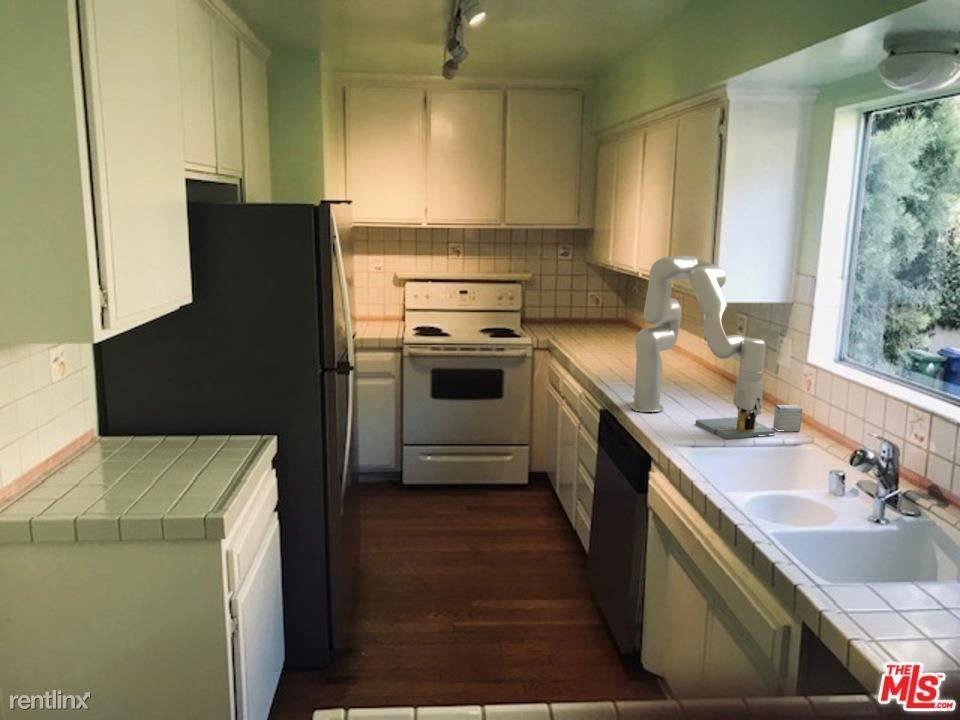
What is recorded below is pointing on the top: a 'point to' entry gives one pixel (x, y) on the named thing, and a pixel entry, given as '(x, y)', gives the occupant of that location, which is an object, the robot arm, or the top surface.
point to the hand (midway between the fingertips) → (745, 427)
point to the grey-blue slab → (743, 429)
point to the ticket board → (720, 424)
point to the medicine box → (787, 417)
